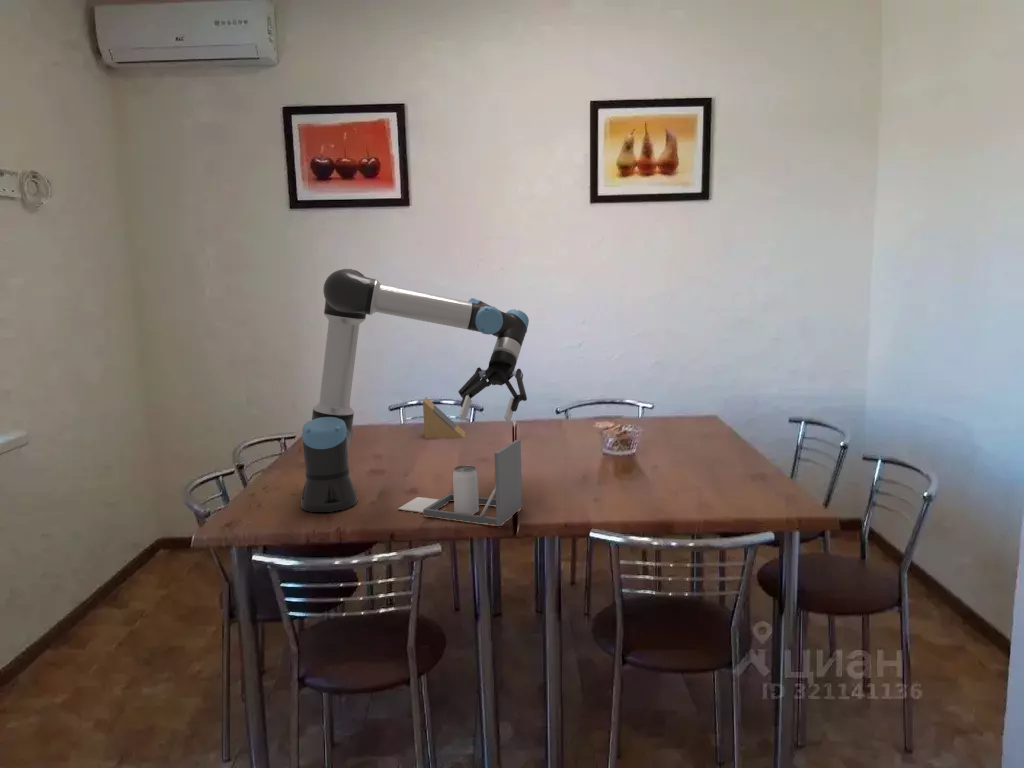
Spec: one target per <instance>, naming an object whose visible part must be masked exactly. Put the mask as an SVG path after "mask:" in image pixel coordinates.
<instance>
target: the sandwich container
mask: <svg viewBox="0 0 1024 768" xmlns="http://www.w3.org/2000/svg"><path fill="white" fill-rule="evenodd" d="M422 411H423V413H422V414H423V430H424V439H425V438H433V439H432V440H435V439H434V438H447V439H465V438H464V437H466V436H465V433H466V431H464V430H463V429H462V428H461V427H460V426H459V425H458V424H456V423H455V422H454V421H453V420H452V419H451V418H449V416H447V414H445V413H444V412H443V411H442V410H441V409H440V408H439V407H437V405H435V404H434V402H432V401H431V400H430V399H429V398H428V397H427V396H425V397H424V399H423V400H422Z"/></svg>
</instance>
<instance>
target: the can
mask: <svg viewBox="0 0 1024 768" xmlns="http://www.w3.org/2000/svg"><path fill="white" fill-rule="evenodd" d="M476 469H477V468H476V467H475V466H474V465H465V464H464V465H459V466H455V467H454V471H453V473H452V484H453V485H452V488H453V494H454V502H453V509H454V510H453V512H456V513H464V514H473V513H476V512H478V513H479V509H480V508H479V507H480V505H479V499H478V497H479V478H478V472H477V470H476Z"/></svg>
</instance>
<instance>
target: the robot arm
mask: <svg viewBox="0 0 1024 768" xmlns="http://www.w3.org/2000/svg"><path fill="white" fill-rule="evenodd" d="M323 295H324V296H323V297H324V300H325V301H324V310H323V314H324V316H325V317H326V319H327V321H328V322H327V331H326V332H327V333H326V339H325V340H326V341H325V342H326V343H325V351H324V356H323V357H324V359H323V360H324V361H323V366H322V367H323V369H322V375H321V376H322V377H321V382H320V384H321V385H320V393H319V402H318V403H316V405H314V406H313V407H312V416H311V420H309V421H306V422H305V424H304V425H302V430H301V431H302V432H301V433H302V434H301V439H302V447H303V459H304V471H305V481H304V482H305V483H304V485H303V490H302V495H301V499H300V505H301V509H302V508H303V509H304V510H303V509H302V510H303V511H305V510H306V511H305V512H307V511H311V512H310V513H312V512H330V513H334V512H333V511H337V512H339V511H338V510H342V511H344V510H343V509H345V510H347V509H346V508H348V509H350V508H349V507H351V506H353V505H354V506H356V505H357V504H356V503H358V502H357V501H358V492H357V490H356V489H355V487H354V484H353V483H354V482H353V481H352V478H351V476H350V469H349V468H350V467H349V466H350V465H349V446H350V443H351V441H352V438H353V433H354V432H353V424H354V415H355V411H354V410H353V408H352V407H351V406H350V403H351V395H352V389H353V388H352V387H353V380H354V379H353V378H354V371H355V363H356V355H357V348H358V347H357V346H358V337H359V330H360V325H361V323H363V322H365V321H366V318H367V317H366V316H367V315H369V316H371V315H373V314H374V313H380V314H385V315H390V316H394V317H400V318H406V319H411V320H415V321H416V320H417V321H422V322H427V323H431V324H436V325H437V324H438V325H441V326H447V327H454V328H459V329H464V330H467V331H468V330H469V331H472V332H479V333H482V334H483V335H492V336H494V337H496V338H497V339H496V341H495V345H494V347H493V349H492V353H491V356H490V359H489V361H488V367H487V368H486V369H482V368H481V367H480V366H479V367H477V368H476V370H475V373H474V374H472V376H471V377H470V378H469V379H468V380H467V381H466V382H465V383H464V384H463V386H462V387H461V388H459V390H458V391H457V392H458V394H459V396H460V397H461V398H462V400H461V401H460V407H461V409H460V412H459V416H460V419H462V420H463V421H466V420H467V417H468V413H469V410H470V408H471V405H472V402H473V400H472V398H474V397H475V396H476V395H478V394H479V393H480V392H482V391H483V390H484V389H486V388H488V387H490V386H491V385H492V386H497V385H498V386H503V385H505V386H506V388H507V389H508V390H509V392H510V394H511V395H512V397H510V398H509V400H508V404H507V408H506V411H505V414H504V419H505V421H506V423H507V424H511V421H512V418H513V414H514V412H517V411H518V406H519V404H520V403H521V401H522V402H526V401H527V400H528V397H527V393H526V389H525V385H524V381H523V377H524V373H523V371H522V370H521V368H517V369H516V366H517V361H518V359H519V357H520V353H521V349H522V346H523V342H524V340H525V337H526V334H527V332H528V327H529V324H530V323H529V321H530V320H529V316H528V315H527V314H526V312H523V311H522V310H520V309H517V310H516V309H515V308H513V309H509V310H508V311H506V312H504V311H502V310H500V309H498V308H497V307H495V306H492V305H490V304H487V303H486V302H484V301H482V300H480V299H476V298H474V297H471V298H470V299H469V300H468V301H467V300H461V299H457V298H452V297H447V296H441V295H438V294H437V295H436V294H431V293H426V292H421V291H417V290H411V289H407V288H403V287H402V288H401V287H396V286H391V285H387V284H382V283H380V281H379V280H378V279H376V278H371V277H367V276H365V275H364V274H363V273H361V272H360V271H358V270H355V269H352V268H342V269H338V270H335V271H334V272H332V273H331V274H329V276H327V278H326V280H325V281H324V284H323ZM513 377H514V378H515V379H516V384H517V387H518V391H519V394H518V393H517V391H516V390H515V388H514V386H513V385H512V383H511V381H510V380H511V379H512V378H513ZM355 504H356V505H355ZM354 506H353V507H354ZM351 508H352V507H351Z"/></svg>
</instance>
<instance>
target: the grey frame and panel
mask: <svg viewBox="0 0 1024 768" xmlns="http://www.w3.org/2000/svg"><path fill="white" fill-rule="evenodd" d="M521 440H522V439H515V440H514V441H512V442H510V443H509V444H506V445H505V446H504V447H501V448H499V450H497V451H495V452H494V455H493V456H494V477H495V478H494V481H495V487H494V489H493V490H492V492H491V494H490V496H489V497H485V496H484V497H482V496H478V499H479V504H486V505H485V506H483V509H482V510H481V512H480V514H479V515H478V514H475V515H472V514H464V513H456V512H455V511H449V510H442V509H439V510H436V509H438V508H440V507H441V506H443V505H444V504H446V503H447V502H449V501H450V500H453V501H454V493H448V494H446V495H444V496H442V497H441V498H439V499H438V501H436V502H435V503H433V504H431V505H430V506H428V507H427V508H425V509H424V510H423V514H422V515H423V516H424V515H426V516H433V517H441V518H449V519H456V520H463V521H470V522H478V523H488V524H495V525H499V526H500V525H501V524H502V523H503V522H505V521H506V520H507V519H509V518H510V517H511V516H513V515H514V514H515V513H516V512H517V511H518V510H519V509H520V508H521V507H522V508H523V488H522V487H523V485H522V484H523V482H522V479H523V476H522V475H523V474H522V446H521V445H522V444H521ZM494 497H495V498H494ZM489 504H490V505H496V507H495V511H496V513H495V514H496V517H492V516H485V513H486V511H487V510H488V508H489Z"/></svg>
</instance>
